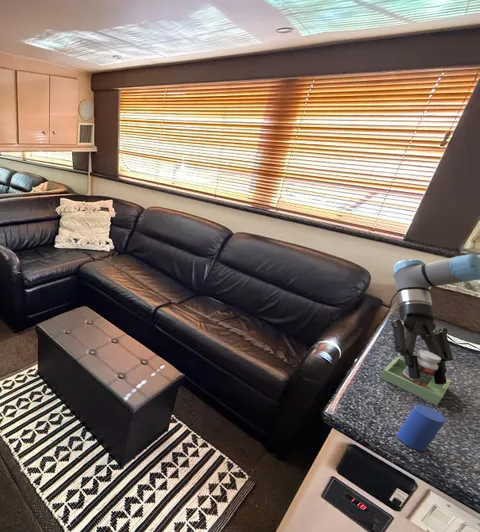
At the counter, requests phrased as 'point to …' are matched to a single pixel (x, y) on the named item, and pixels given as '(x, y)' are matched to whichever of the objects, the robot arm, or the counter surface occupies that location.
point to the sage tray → (428, 393)
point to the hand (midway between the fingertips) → (427, 380)
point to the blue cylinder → (420, 427)
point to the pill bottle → (424, 368)
